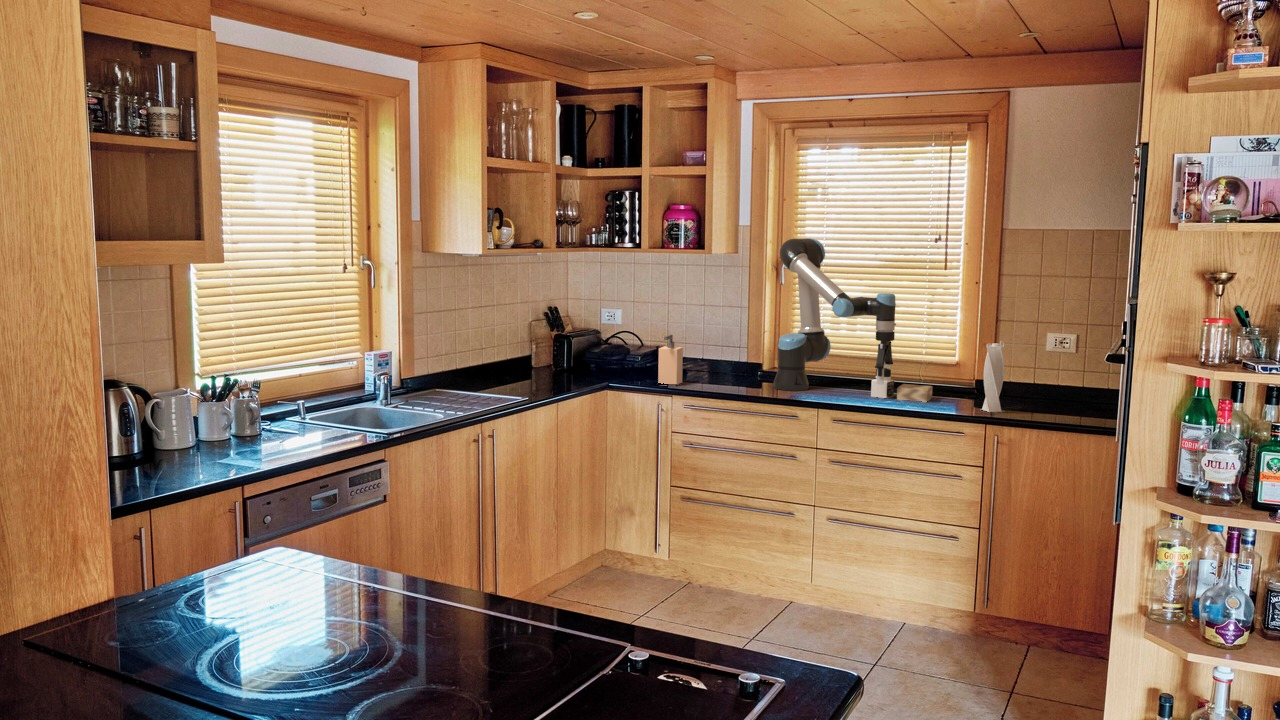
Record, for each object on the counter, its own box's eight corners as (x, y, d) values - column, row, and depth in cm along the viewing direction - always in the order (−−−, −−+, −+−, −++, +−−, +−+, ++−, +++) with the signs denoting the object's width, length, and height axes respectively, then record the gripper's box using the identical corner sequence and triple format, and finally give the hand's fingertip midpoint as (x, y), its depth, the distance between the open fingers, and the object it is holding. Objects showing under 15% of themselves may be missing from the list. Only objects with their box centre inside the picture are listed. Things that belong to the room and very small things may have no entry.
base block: (896, 400, 410) (897, 387, 409) (902, 395, 420) (903, 383, 420) (926, 402, 404) (927, 390, 404) (931, 398, 415) (932, 385, 414)
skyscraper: (1007, 413, 383) (1012, 340, 379) (988, 414, 381) (993, 340, 377) (995, 409, 391) (1000, 338, 387) (976, 410, 389) (981, 338, 386)
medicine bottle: (886, 398, 412) (888, 370, 410) (870, 396, 416) (871, 368, 415) (893, 396, 418) (895, 368, 416) (877, 394, 422) (879, 366, 420)
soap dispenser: (663, 382, 449) (664, 333, 446) (682, 383, 446) (683, 334, 443) (655, 386, 437) (655, 336, 434) (673, 387, 434) (674, 337, 431)
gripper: (888, 333, 400) (886, 386, 403) (900, 328, 423) (898, 378, 425) (869, 333, 404) (867, 385, 406) (882, 328, 426) (881, 377, 429)
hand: (883, 382), depth 416 cm, fingers open, 13 cm apart
